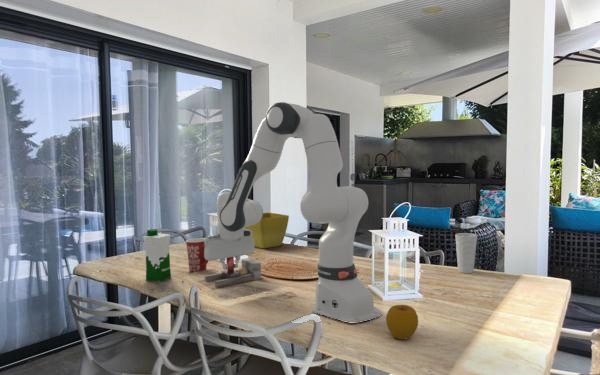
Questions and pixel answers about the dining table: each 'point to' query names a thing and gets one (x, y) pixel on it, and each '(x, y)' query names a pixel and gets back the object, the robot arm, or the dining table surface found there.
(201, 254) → the mug
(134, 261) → the dining table surface
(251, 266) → the cracker bed
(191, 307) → the dining table surface
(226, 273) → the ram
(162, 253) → the milk carton
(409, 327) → the apple
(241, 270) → the nut
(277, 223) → the flower pot
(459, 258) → the cup
